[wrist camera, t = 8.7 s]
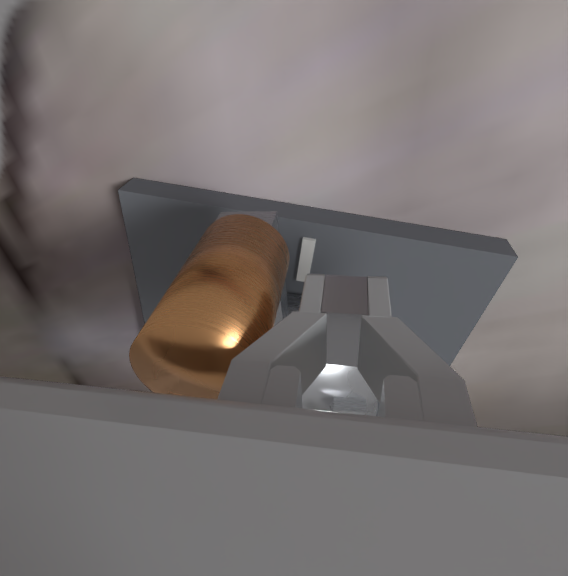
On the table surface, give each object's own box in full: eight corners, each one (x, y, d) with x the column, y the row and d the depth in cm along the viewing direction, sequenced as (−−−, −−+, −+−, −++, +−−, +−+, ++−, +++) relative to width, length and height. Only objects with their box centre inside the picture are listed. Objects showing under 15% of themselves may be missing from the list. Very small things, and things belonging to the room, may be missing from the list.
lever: (370, 413, 23) (378, 591, 16) (224, 402, 25) (174, 558, 18) (392, 160, 13) (438, 336, 6) (148, 171, 15) (-31, 318, 8)
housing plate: (506, 239, 17) (519, 259, 15) (392, 436, 28) (394, 457, 27) (133, 177, 17) (115, 191, 16) (169, 392, 29) (160, 411, 28)
